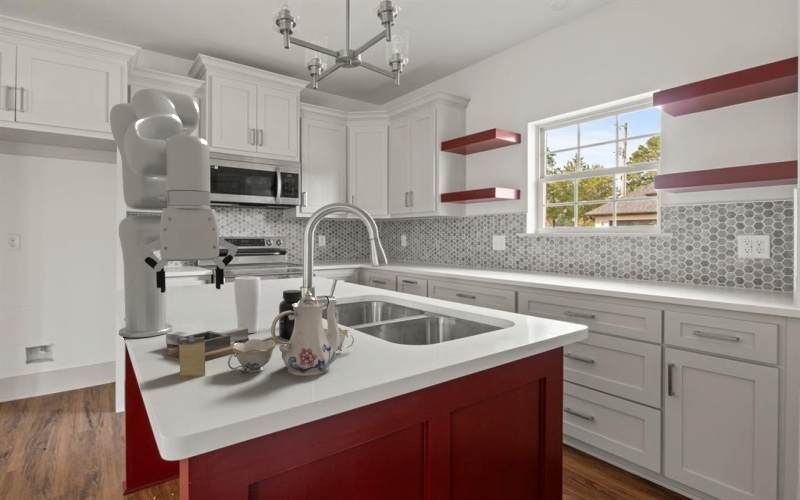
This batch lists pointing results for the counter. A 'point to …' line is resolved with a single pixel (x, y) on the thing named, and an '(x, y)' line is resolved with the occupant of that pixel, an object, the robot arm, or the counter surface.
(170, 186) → the robot arm
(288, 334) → the supplement bottle
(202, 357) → the block
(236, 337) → the shaft rig
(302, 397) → the counter surface
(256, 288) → the drinking glass
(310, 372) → the chinaware
